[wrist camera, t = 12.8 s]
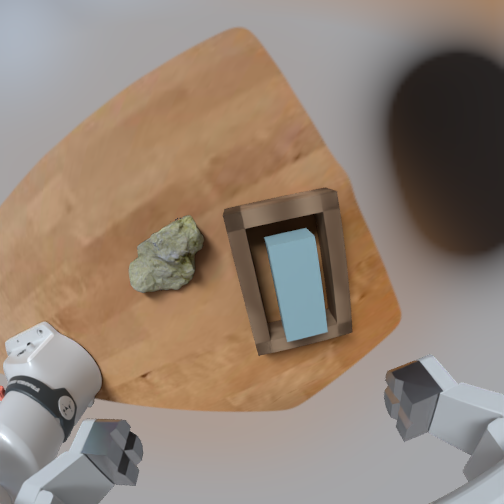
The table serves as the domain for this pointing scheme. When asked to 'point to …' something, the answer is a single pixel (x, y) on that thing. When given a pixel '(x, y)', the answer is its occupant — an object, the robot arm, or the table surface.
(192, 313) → the table surface
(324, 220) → the frame
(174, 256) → the rock
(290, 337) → the light blue rectangular block
